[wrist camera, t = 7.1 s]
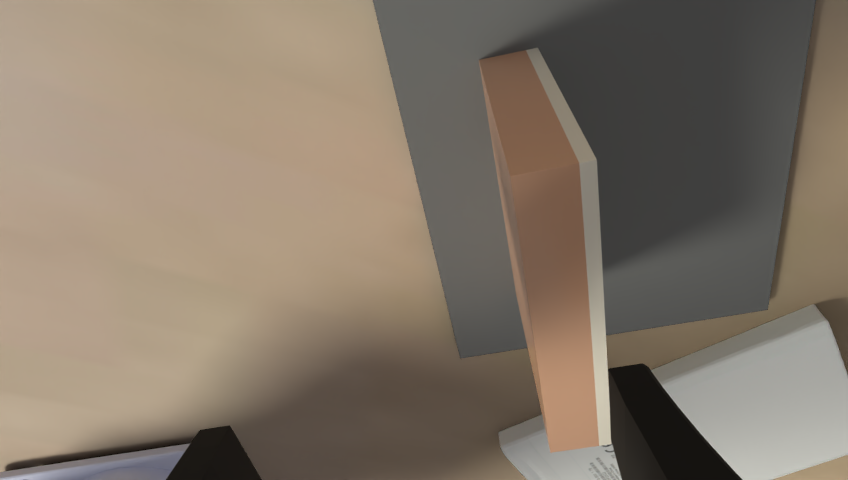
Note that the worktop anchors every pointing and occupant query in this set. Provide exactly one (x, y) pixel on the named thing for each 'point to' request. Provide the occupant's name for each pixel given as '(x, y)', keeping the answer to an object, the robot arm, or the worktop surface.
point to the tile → (552, 244)
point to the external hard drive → (732, 405)
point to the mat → (611, 146)
